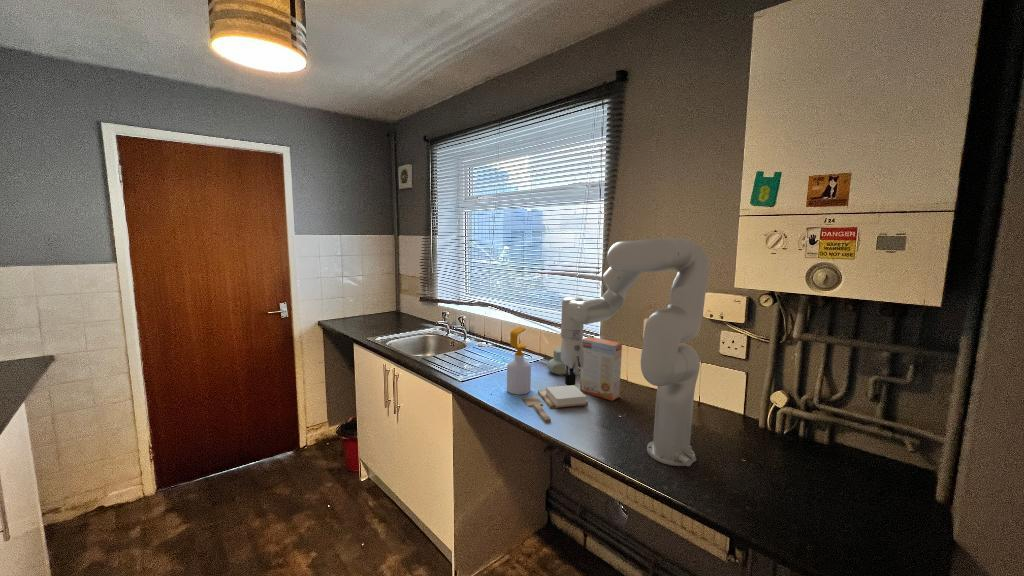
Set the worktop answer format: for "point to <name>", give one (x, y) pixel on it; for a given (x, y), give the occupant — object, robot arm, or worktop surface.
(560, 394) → the ceramic tile
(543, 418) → the wooden turner
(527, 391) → the soap bottle
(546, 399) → the cork board
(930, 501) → the worktop surface
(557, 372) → the air freshener
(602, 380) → the cracker box
